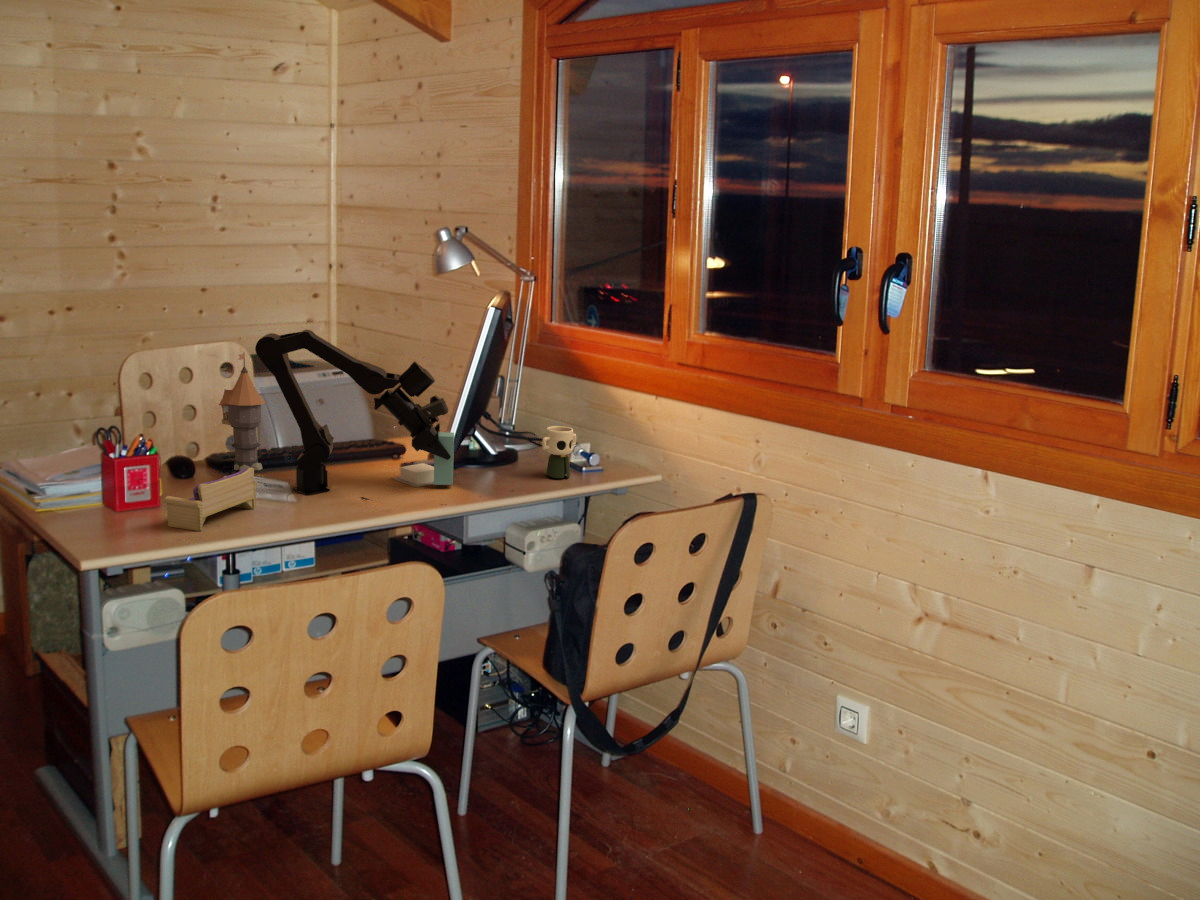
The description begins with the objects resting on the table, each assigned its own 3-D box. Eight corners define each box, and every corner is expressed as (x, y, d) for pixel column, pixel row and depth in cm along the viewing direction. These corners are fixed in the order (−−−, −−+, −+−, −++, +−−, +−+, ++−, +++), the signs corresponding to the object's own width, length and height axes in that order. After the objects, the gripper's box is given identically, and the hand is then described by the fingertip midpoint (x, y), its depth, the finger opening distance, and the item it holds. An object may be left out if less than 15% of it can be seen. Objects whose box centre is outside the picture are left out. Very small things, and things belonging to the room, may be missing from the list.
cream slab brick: (417, 484, 276) (417, 472, 275) (400, 478, 280) (400, 467, 280) (440, 480, 281) (440, 468, 280) (423, 474, 285) (423, 463, 285)
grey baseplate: (415, 492, 274) (415, 486, 274) (391, 484, 281) (391, 478, 280) (448, 486, 281) (448, 480, 281) (424, 478, 288) (424, 472, 287)
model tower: (237, 461, 296) (234, 347, 289) (274, 465, 293) (271, 351, 286) (214, 468, 287) (211, 352, 280) (252, 474, 284) (248, 356, 277)
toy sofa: (226, 503, 259) (225, 460, 256) (259, 508, 256) (257, 465, 254) (164, 527, 239) (162, 481, 237) (199, 533, 237) (197, 486, 234)
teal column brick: (433, 484, 272) (434, 436, 270) (434, 479, 277) (435, 432, 274) (452, 485, 273) (453, 436, 270) (452, 480, 277) (454, 432, 274)
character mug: (549, 483, 289) (551, 433, 286) (533, 476, 294) (534, 428, 291) (582, 477, 296) (584, 429, 293) (566, 471, 301) (567, 424, 298)
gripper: (427, 394, 260) (473, 442, 264) (430, 380, 278) (474, 425, 282) (391, 426, 261) (439, 474, 265) (397, 410, 279) (441, 455, 283)
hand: (449, 456), depth 273 cm, fingers closed on teal column brick, 4 cm apart
